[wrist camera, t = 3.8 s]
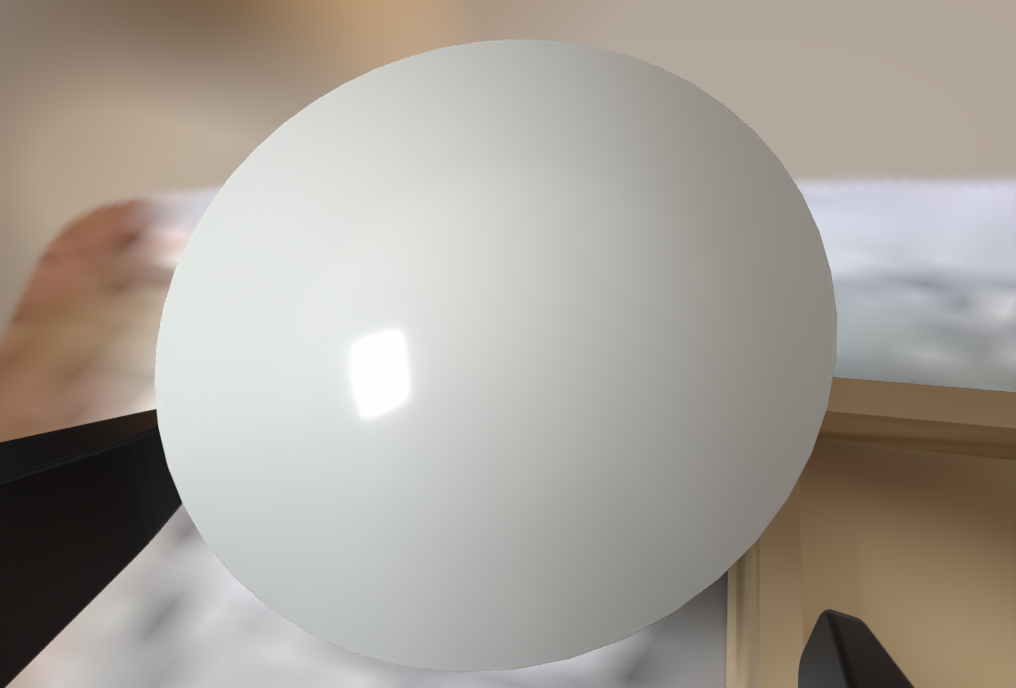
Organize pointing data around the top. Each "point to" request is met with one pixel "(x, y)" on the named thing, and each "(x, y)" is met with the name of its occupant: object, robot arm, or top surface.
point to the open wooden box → (891, 540)
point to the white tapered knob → (495, 355)
